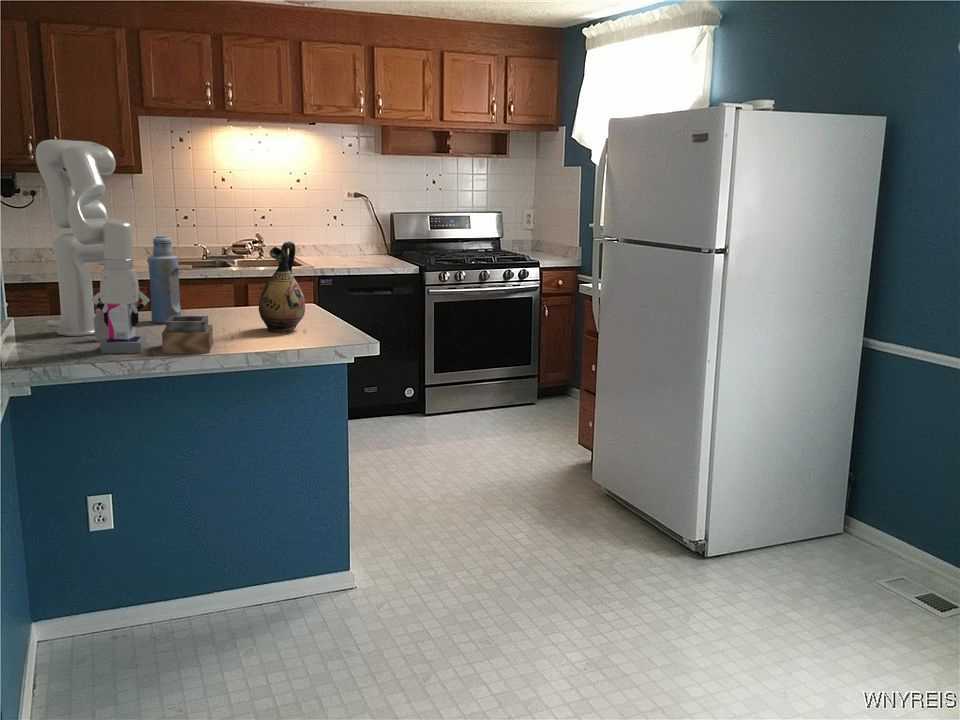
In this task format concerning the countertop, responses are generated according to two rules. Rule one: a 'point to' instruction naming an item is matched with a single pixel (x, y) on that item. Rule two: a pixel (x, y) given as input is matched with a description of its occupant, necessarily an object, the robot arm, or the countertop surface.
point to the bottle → (164, 281)
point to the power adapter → (100, 326)
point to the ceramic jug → (282, 294)
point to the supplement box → (120, 322)
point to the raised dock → (187, 335)
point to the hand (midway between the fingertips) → (121, 325)
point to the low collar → (123, 345)
